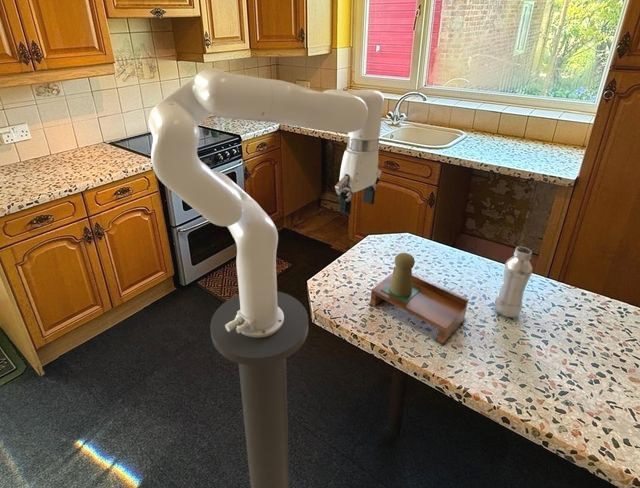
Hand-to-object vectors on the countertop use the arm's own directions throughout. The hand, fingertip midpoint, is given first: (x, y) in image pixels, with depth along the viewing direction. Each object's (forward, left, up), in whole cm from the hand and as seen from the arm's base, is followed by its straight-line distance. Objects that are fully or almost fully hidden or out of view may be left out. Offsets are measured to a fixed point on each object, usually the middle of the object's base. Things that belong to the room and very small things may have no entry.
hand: (356, 208), depth 103 cm
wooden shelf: (+7, -17, -29) cm, 34 cm away
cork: (+7, -12, -24) cm, 27 cm away
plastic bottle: (+24, -35, -29) cm, 51 cm away
